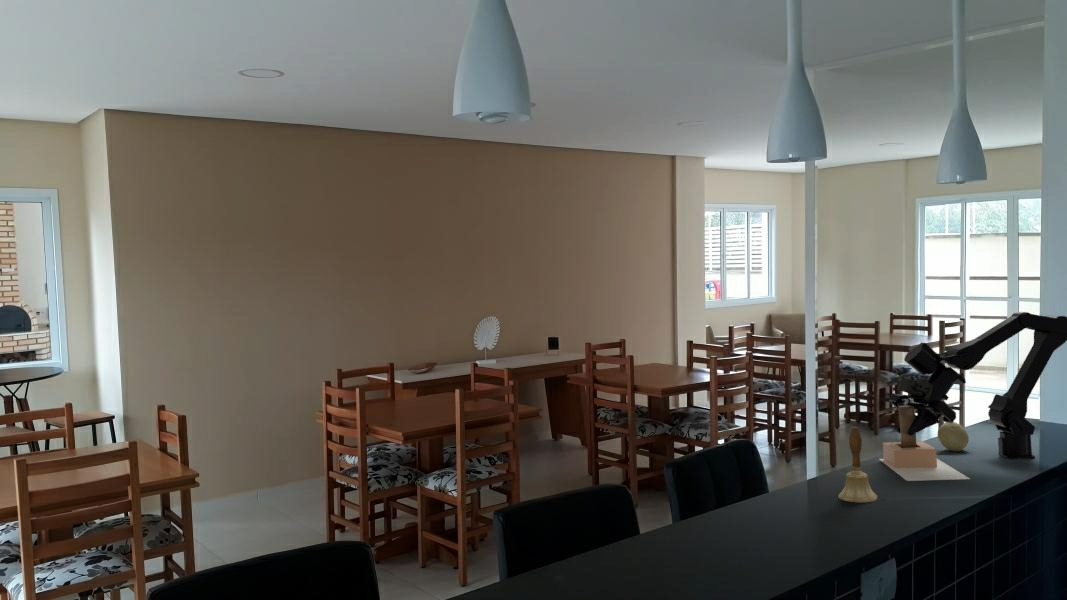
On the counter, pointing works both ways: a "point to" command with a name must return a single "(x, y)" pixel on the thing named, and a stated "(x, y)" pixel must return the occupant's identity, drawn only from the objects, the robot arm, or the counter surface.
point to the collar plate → (928, 472)
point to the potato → (953, 436)
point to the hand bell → (857, 475)
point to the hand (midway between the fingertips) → (903, 433)
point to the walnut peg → (907, 426)
